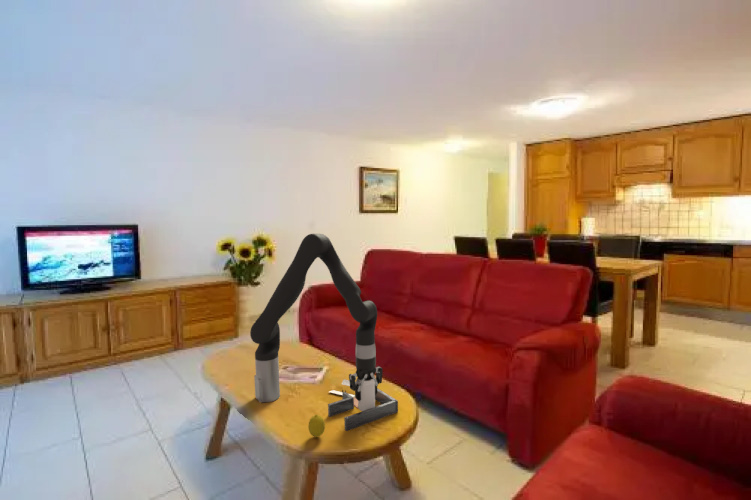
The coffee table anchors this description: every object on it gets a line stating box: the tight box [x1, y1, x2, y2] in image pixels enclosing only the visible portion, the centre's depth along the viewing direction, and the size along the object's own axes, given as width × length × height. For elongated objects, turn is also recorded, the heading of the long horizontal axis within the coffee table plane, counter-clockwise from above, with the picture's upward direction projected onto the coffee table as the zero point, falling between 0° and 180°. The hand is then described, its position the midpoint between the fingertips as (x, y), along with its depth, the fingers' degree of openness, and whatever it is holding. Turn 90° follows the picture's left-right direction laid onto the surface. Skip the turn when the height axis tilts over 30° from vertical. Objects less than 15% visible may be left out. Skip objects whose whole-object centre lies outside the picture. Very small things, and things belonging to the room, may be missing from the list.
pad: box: [353, 397, 359, 409], centre depth 162 cm, size 8×8×1 cm
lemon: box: [307, 414, 326, 438], centre depth 137 cm, size 6×6×8 cm
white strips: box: [328, 379, 355, 398], centre depth 173 cm, size 12×12×2 cm
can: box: [357, 378, 376, 412], centre depth 152 cm, size 6×6×12 cm
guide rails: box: [327, 387, 399, 432], centre depth 154 cm, size 23×19×4 cm
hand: (366, 397), depth 152 cm, fingers closed on can, 6 cm apart
